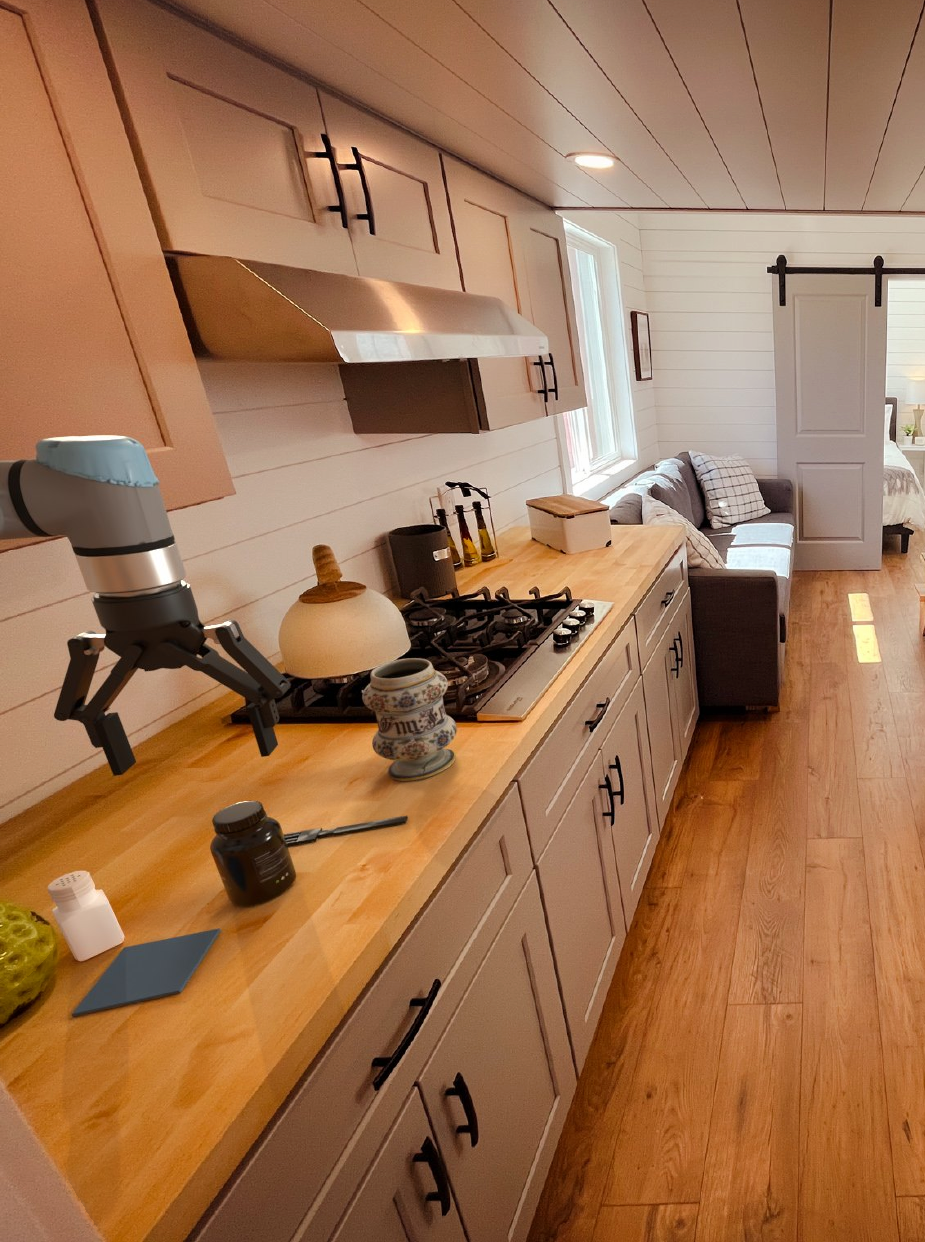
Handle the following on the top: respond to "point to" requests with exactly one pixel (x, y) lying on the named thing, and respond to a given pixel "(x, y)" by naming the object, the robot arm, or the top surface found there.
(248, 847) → the supplement bottle
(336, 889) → the top surface
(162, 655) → the robot arm
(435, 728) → the apothecary jar
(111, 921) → the pepper shaker
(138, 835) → the top surface
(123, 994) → the dark blue square coaster
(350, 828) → the fork
